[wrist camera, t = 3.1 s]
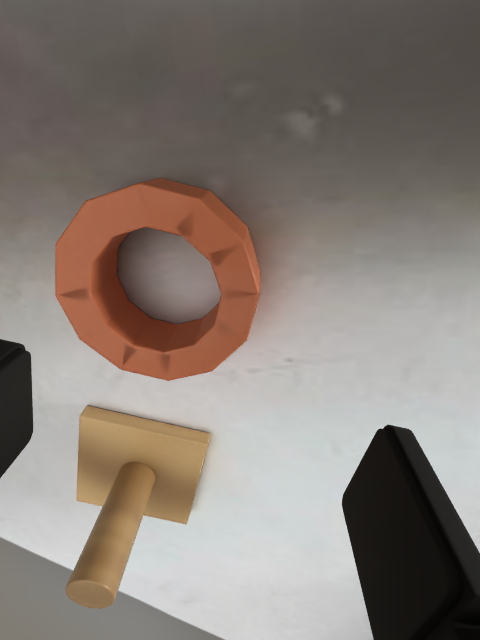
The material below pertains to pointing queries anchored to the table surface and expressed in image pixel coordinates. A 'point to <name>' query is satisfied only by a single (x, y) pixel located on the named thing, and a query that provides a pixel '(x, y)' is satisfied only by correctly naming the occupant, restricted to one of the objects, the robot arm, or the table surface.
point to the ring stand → (129, 491)
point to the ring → (125, 318)
